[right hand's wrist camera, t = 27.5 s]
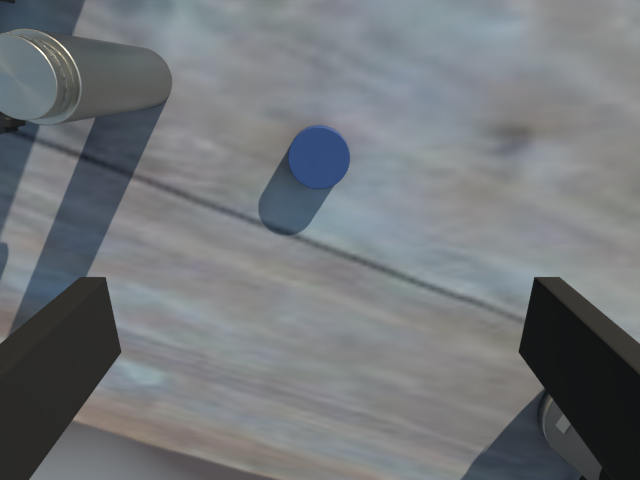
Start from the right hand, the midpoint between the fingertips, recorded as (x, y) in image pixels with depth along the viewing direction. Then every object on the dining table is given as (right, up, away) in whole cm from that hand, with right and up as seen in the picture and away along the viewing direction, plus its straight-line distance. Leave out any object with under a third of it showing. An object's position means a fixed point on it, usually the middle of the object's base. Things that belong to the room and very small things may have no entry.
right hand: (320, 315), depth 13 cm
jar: (-15, +16, +23) cm, 32 cm away
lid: (0, +10, +24) cm, 26 cm away
